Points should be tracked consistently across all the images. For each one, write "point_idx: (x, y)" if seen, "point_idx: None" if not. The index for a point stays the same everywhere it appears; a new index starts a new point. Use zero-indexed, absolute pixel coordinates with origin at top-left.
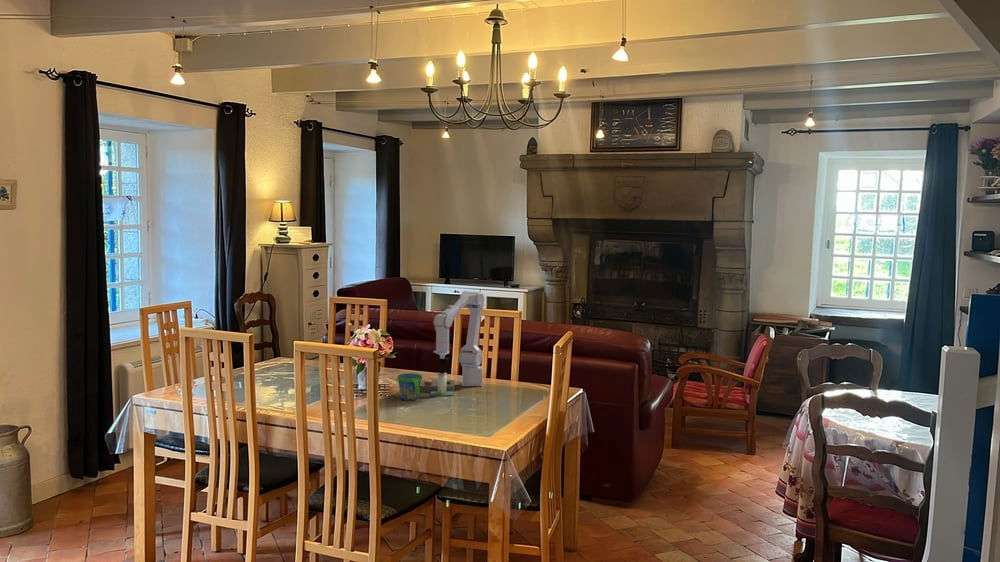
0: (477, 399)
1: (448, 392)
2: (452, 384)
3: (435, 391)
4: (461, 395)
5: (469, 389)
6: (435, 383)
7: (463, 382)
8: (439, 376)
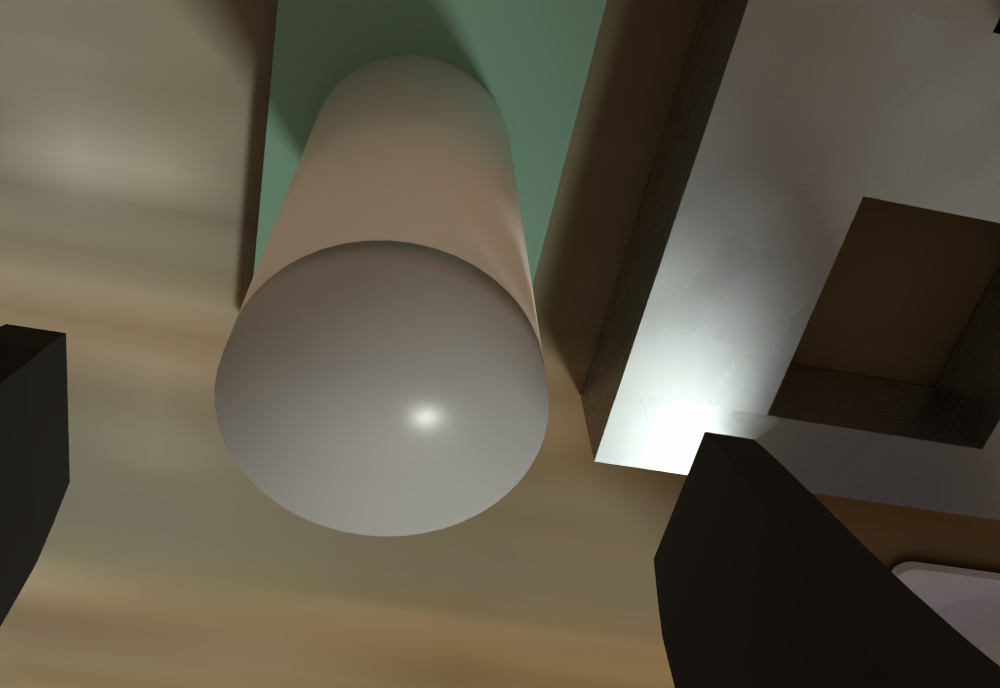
0: None
1: None
2: None
3: (586, 40)
4: None
5: None
6: (992, 140)
7: (972, 623)
8: (268, 263)
